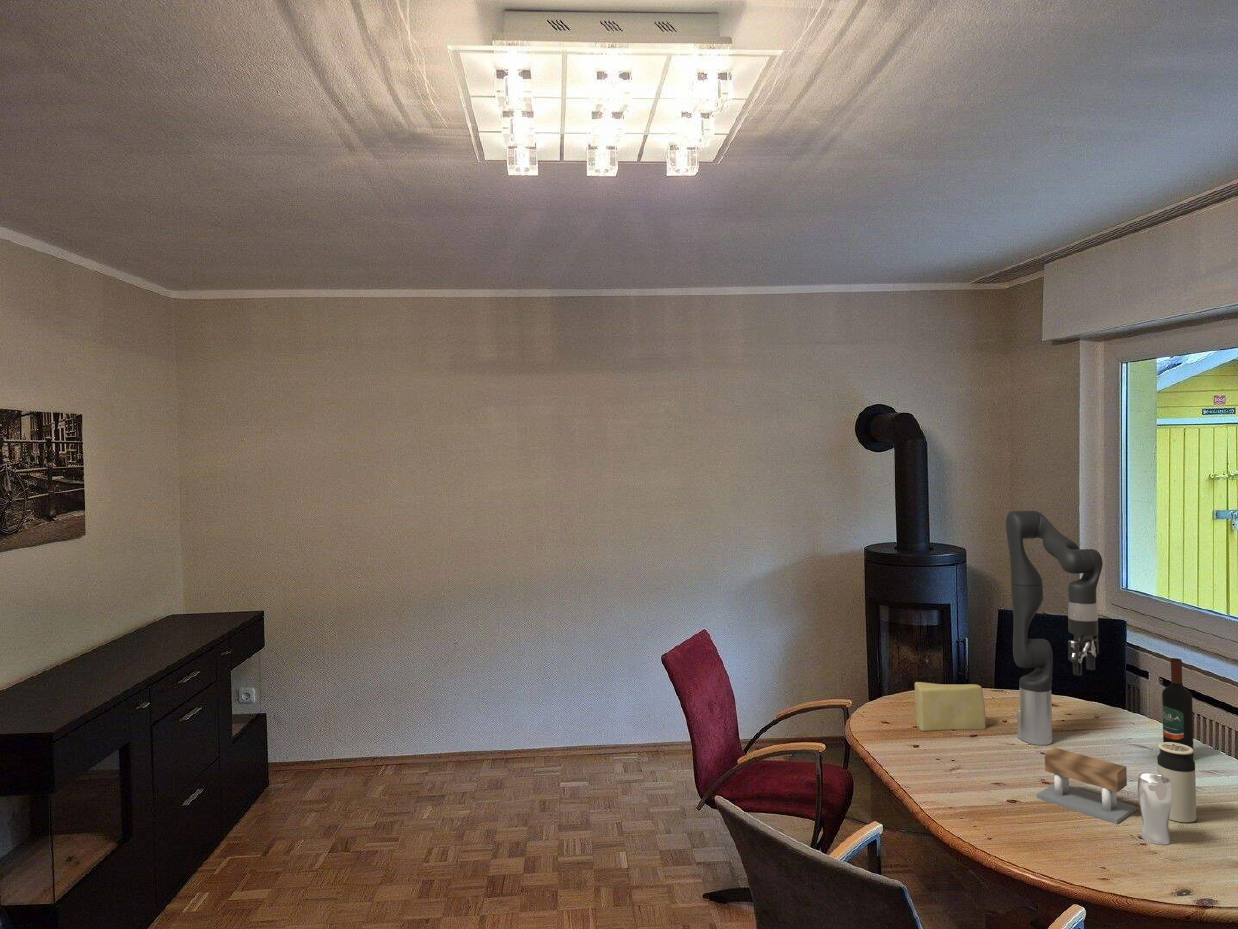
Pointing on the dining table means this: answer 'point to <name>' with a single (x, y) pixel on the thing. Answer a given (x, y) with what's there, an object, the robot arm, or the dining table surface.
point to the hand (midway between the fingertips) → (1084, 672)
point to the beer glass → (1155, 807)
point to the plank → (1086, 769)
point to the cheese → (949, 707)
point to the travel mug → (1179, 779)
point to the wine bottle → (1177, 709)
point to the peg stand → (1086, 800)
